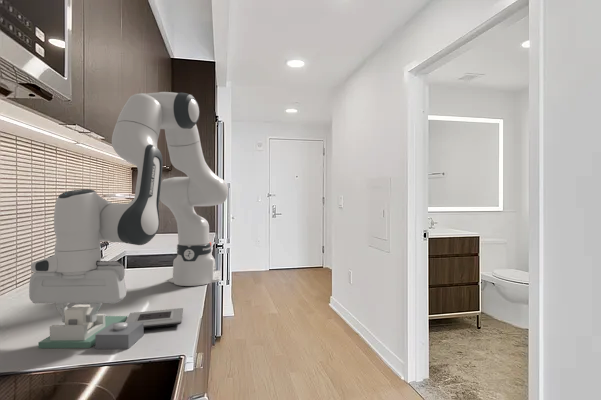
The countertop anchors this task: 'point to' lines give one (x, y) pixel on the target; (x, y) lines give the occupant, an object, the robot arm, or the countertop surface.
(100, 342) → the grey push button
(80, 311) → the plug
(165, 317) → the electrical outlet
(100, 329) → the board
